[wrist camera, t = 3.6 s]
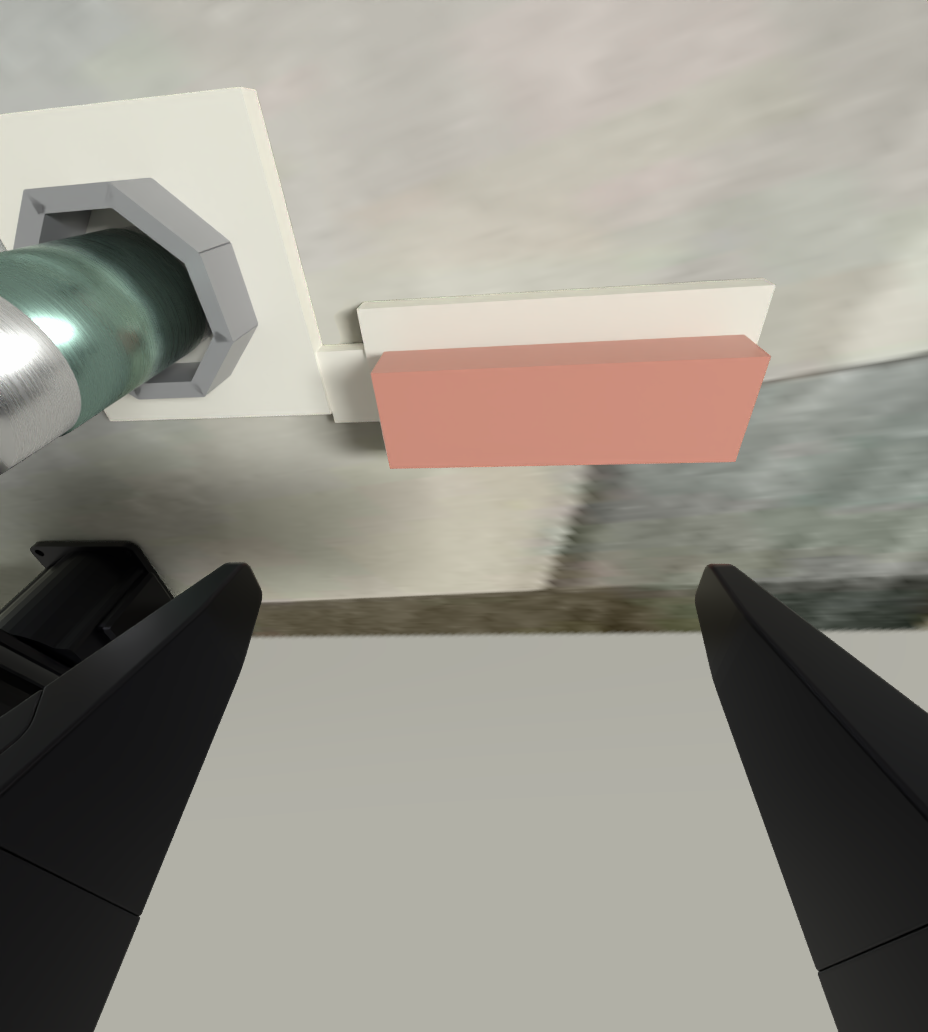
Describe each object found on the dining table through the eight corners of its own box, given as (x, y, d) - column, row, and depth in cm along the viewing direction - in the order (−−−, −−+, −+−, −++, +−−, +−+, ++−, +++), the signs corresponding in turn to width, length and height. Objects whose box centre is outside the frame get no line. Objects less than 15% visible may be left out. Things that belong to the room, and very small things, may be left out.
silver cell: (138, 350, 18) (-131, 502, 10) (75, 228, 16) (-341, 313, 8) (236, 345, 18) (30, 500, 10) (188, 219, 15) (-136, 299, 8)
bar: (400, 441, 19) (389, 468, 17) (383, 351, 16) (370, 373, 15) (714, 433, 17) (735, 461, 16) (743, 334, 15) (771, 356, 13)
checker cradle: (147, 449, 22) (105, 485, 20) (-40, 123, 15) (-143, 119, 12) (716, 435, 19) (743, 474, 17) (838, 24, 12) (916, -5, 10)
